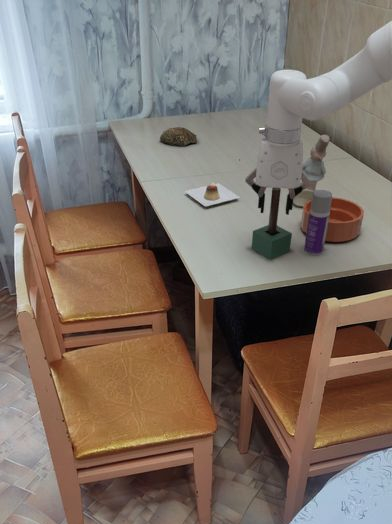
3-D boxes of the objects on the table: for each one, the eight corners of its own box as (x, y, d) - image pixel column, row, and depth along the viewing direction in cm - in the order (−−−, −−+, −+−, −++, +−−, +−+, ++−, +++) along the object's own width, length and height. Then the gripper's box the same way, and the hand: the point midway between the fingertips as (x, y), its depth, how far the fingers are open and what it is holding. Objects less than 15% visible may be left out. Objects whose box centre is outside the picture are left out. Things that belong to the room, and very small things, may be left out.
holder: (289, 251, 136) (292, 233, 133) (270, 259, 133) (272, 241, 129) (270, 240, 140) (272, 223, 137) (251, 248, 137) (252, 230, 134)
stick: (275, 249, 136) (282, 188, 126) (270, 252, 135) (276, 191, 125) (270, 246, 138) (276, 186, 127) (264, 249, 137) (270, 188, 126)
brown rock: (155, 141, 197) (154, 127, 194) (178, 132, 204) (177, 119, 201) (181, 149, 191) (181, 135, 188) (204, 140, 198) (204, 126, 195)
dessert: (204, 210, 154) (205, 193, 151) (183, 194, 162) (183, 179, 158) (239, 201, 158) (240, 185, 155) (217, 186, 166) (218, 171, 163)
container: (302, 253, 135) (311, 196, 125) (305, 244, 138) (314, 188, 129) (321, 256, 134) (331, 199, 124) (324, 247, 137) (334, 191, 128)
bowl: (371, 232, 144) (376, 211, 140) (332, 250, 136) (336, 228, 132) (326, 212, 153) (330, 192, 149) (288, 227, 146) (291, 206, 142)
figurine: (319, 210, 154) (331, 138, 141) (289, 207, 156) (298, 135, 143) (321, 197, 161) (332, 127, 148) (292, 194, 162) (301, 125, 149)
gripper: (242, 137, 116) (237, 216, 128) (323, 141, 114) (311, 220, 126) (244, 126, 122) (239, 202, 133) (321, 130, 120) (310, 206, 132)
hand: (274, 210), depth 130 cm, fingers open, 5 cm apart
